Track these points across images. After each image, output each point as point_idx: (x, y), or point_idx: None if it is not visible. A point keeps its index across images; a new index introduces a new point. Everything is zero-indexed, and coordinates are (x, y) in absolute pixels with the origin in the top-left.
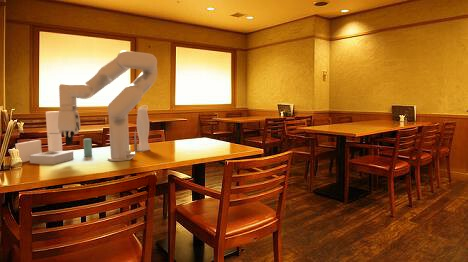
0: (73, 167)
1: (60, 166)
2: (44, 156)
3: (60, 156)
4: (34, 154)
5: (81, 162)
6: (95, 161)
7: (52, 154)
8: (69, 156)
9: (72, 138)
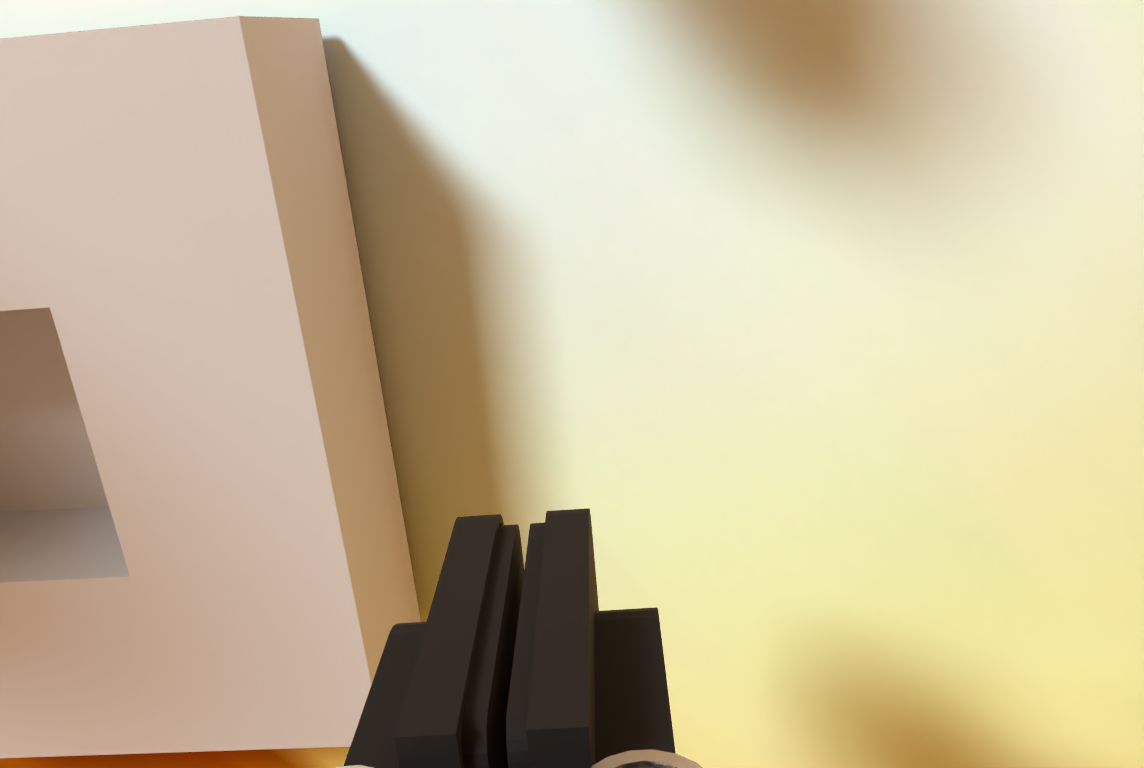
0: (980, 693)
1: None
2: (153, 745)
3: (356, 514)
4: None
5: (824, 291)
6: (1119, 95)
7: (132, 574)
8: (317, 185)
9: (672, 743)
